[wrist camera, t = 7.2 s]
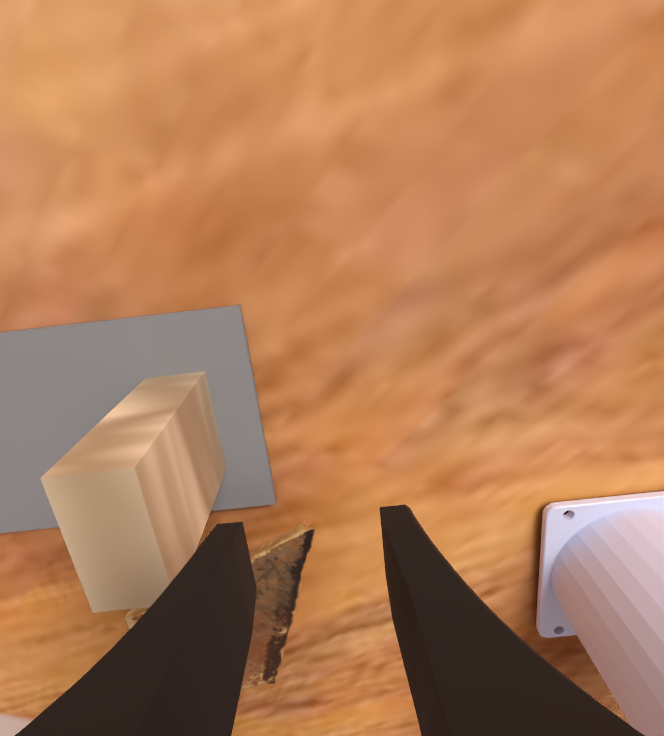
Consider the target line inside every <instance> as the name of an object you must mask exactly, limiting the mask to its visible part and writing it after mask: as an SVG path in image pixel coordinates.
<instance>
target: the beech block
mask: <svg viewBox="0 0 664 736" xmlns="http://www.w3.org/2000/svg"><path fill="white" fill-rule="evenodd" d="M225 472H226V464H225V460H224V455H223V451H222V446H221V442H220V437H219V433H218V428H217V424H216V419H215V415H214V410H213V406H212V401H211V397H210V392H209V388H208V383H207V379H206V374H205V372H196V373H187V374H178V375H170V376H161V377H152V378H145V379H144V380H143V381H142V382H141V383H140V384H139V385H138V386H137V387H136V388H135V389H134V390H132V391H131V392H130V393H129V394H128V395H127V396H126V397H125V398H124V399H123V400H122V401H121V402H120V403H119V404H118V405H117V406H116V407H115V408H114V409H112V410H111V411H110V412H109V413H108V414H107V415H106V416H105V417H104V418H103V419H102V420H101V421H100V422H99V423H98V424H97V425H96V426H95V427H94V428H92V429H91V430H90V431H89V432H88V433H87V434H86V435H85V436H84V437H83V438H82V439H81V440H80V441H79V442H78V443H77V444H76V445H75V446H74V447H73V448H71V449H70V450H69V451H68V452H67V453H66V454H65V455H64V456H63V457H62V458H61V459H60V460H59V461H58V462H57V463H56V464H55V465H54V466H53V467H51V468H50V469H49V470H48V471H47V472H46V473H45V474H44V475H43V476H42V477H41V478H40V479H41V482H42V484H43V487H44V489H45V492H46V494H47V497H48V499H49V502H50V505H51V507H52V510H53V512H54V515H55V517H56V520H57V523H58V525H59V528H60V530H61V533H62V535H63V538H64V541H65V543H66V546H67V548H68V551H69V553H70V556H71V559H72V561H73V564H74V566H75V569H76V571H77V574H78V576H79V579H80V582H81V584H82V587H83V589H84V592H85V594H86V597H87V600H88V602H89V605H90V607H91V610H92V612H93V613H98V612H107V611H117V610H127V609H137V608H147V607H151V605H152V604H153V603H154V602H155V601H156V600H157V599H158V597H159V596H160V595H161V594H162V593H163V591H164V590H165V589H166V588H167V586H168V585H169V584H170V583H171V582H172V580H173V579H174V578H175V577H176V576H177V574H178V573H179V572H180V571H181V569H182V568H183V567H184V566H185V564H186V563H187V562H188V561H189V559H190V558H191V557H192V555H193V554H194V553H195V552H196V549H197V547H198V544H199V541H200V539H201V536H202V533H203V531H204V528H205V525H206V523H207V520H208V517H209V515H210V512H211V509H212V506H213V504H214V501H215V498H216V496H217V493H218V490H219V488H220V485H221V482H222V480H223V477H224V474H225Z"/></svg>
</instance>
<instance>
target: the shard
mask: <svg viewBox="0 0 664 736" xmlns="http://www.w3.org/2000/svg"><path fill="white" fill-rule="evenodd" d="M314 531H315V528H313V527H308V526H307V522H306V520H305V521H303V522H301V523H300V524H298V525H297V526H295V527H293V528H291V529H289V530H288V531H286V532H284V533H281V534H280V535H278V536H277V537H275V538H273V539H272V540H270V541H269V542H268V543H266V544H265V545H263V546H261V547H259V548H258V549H257V550H255V551H253V552H252V553H249V555H250V559H251V564H252V569H253V573H254V578H255V582H256V587H257V590H256V602H255V613H254V623H253V632H252V637H251V642H250V647H249V652H248V657H247V662H246V667H245V672H244V676H243V681H242V686H241V689H246V688H249V687H251V686H256V685H259V684H261V683H265V684H275V682H276V680H277V678H278V674H279V667H280V665H281V661H282V658H283V653H284V648H285V645H286V642H287V638H288V633H289V630H290V627H291V624H292V621H293V618H294V614H295V611H296V607H297V601H298V597H299V593H300V590H301V582H302V571H303V568H304V563H305V560H306V556H307V554H308V552H309V551H310V549H311V547H312V540H313V536H314ZM149 608H150V607H147V608H137V609H131V610H130V611H129V612H128V613H127V614H126V616H125V621H126V623H127V625H128V627H129V629H131V628H132V627H133V626H134V624H135V623H136V622H137V621H138V620H139V619H140V618H141V617H142V615H143V614H144V613H145V612H146V611H147V610H148V609H149Z"/></svg>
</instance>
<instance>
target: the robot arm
mask: <svg viewBox="0 0 664 736" xmlns="http://www.w3.org/2000/svg"><path fill="white" fill-rule="evenodd" d="M566 511H569V512H568V513H567V514H564V513H565V512H566ZM563 514H564V515H563ZM380 516H381V527H382V538H383V549H384V561H385V572H386V580H387V586H388V593H389V599H390V606H391V612H392V618H393V622H394V627H395V631H396V635H397V639H398V642H399V646H400V650H401V654H402V658H403V662H404V666H405V670H406V674H407V678H408V682H409V686H410V690H411V694H412V698H413V702H414V706H415V710H416V714H417V718H418V722H419V726H420V730H421V735H422V736H664V491H660V492H650V493H640V494H631V495H621V496H612V497H602V498H592V499H583V500H573V501H564V502H554V503H550V504H549V505H547V506H546V507H545V508H544V510H543V516H542V533H541V550H540V567H539V584H538V601H537V618H536V628H537V631H538V633H539V634H540V635H541V636H542V637H545V638H552V637H562V636H572V635H577V636H578V638H579V640H580V641H581V643H582V645H583V646H584V648H585V650H586V652H587V653H588V655H589V657H590V658H591V660H592V662H593V663H594V665H595V667H596V668H597V670H598V672H599V673H600V675H601V677H602V678H603V680H604V682H605V683H606V685H607V687H608V689H609V690H610V692H611V694H612V695H613V697H614V699H615V700H616V702H617V704H618V705H619V707H620V709H621V710H622V712H623V714H624V715H625V717H626V719H627V720H628V722H629V724H630V725H631V726H630V725H629V724H628V723H626V722H625V721H623V720H622V719H621V718H619V717H618V716H617V715H615V714H614V713H612V712H611V711H610V710H608V709H607V708H606V707H604V706H603V705H601V704H600V703H599V702H597V701H596V700H595V699H594V698H592V697H591V696H590V695H589V694H587V693H586V692H585V691H583V690H582V689H581V688H580V687H578V686H577V685H576V684H575V683H573V682H572V681H571V680H570V679H568V678H567V677H566V676H565V675H563V674H562V673H561V672H560V671H558V670H557V669H556V668H555V667H553V666H552V665H551V664H550V663H548V662H547V661H546V660H545V659H544V658H542V657H541V656H540V655H539V654H538V653H537V652H536V651H534V650H533V649H532V648H531V647H530V646H529V645H528V644H527V643H525V642H524V641H523V640H522V639H521V638H520V637H519V636H518V635H517V634H515V633H514V632H513V631H512V630H511V629H510V628H509V627H508V626H507V625H506V624H505V623H504V622H503V621H502V620H501V619H500V618H499V617H498V616H497V615H496V614H495V613H494V612H493V611H492V610H491V609H490V608H489V607H488V606H487V605H486V604H485V603H484V602H483V601H482V600H481V599H480V598H479V597H478V596H477V595H476V594H475V593H474V591H473V590H472V589H471V588H470V587H469V586H468V585H467V584H466V583H465V582H464V580H463V579H462V578H461V577H460V576H459V575H458V574H457V572H456V571H455V570H454V569H453V567H452V566H451V565H450V564H449V563H448V561H447V560H446V559H445V558H444V556H443V555H442V554H441V553H440V552H439V550H438V549H437V548H436V546H435V545H434V544H433V542H432V541H431V540H430V538H429V537H428V535H427V534H426V533H425V531H424V530H423V528H422V527H421V525H420V524H419V522H418V521H417V519H416V518H415V516H414V514H413V513H412V511H411V509H410V508H409V507H408V506H406V505H398V506H388V507H380ZM256 590H257V587H256V582H255V578H254V573H253V569H252V564H251V559H250V555H249V550H248V546H247V541H246V536H245V532H244V527H243V523H242V522H235V523H226V524H217V525H216V526H215V528H214V529H213V530H212V531H211V533H210V534H209V535H208V536H207V538H206V539H205V540H204V541H203V543H202V544H201V545H200V546H199V548H198V549H197V550H196V552H195V553H194V554H193V555H192V557H191V558H190V559H189V561H188V562H187V563H186V564H185V566H184V567H183V568H182V569H181V571H180V572H179V573H178V574H177V576H176V577H175V578H174V579H173V580H172V582H171V583H170V584H169V585H168V586H167V588H166V589H165V590H164V591H163V593H162V594H161V595H160V596H159V597H158V599H157V600H156V601H155V602H154V603H153V604H152V605H151V607H150V608H149V609H148V610H147V611H146V612H145V613H144V614H143V615H142V617H141V618H140V619H139V620H138V621H137V622H136V623H135V624H134V626H133V627H132V628H131V629H130V630H129V631H128V632H127V633H126V634H125V635H124V636H123V637H122V639H121V640H120V641H119V642H118V643H117V644H116V645H115V646H114V647H113V648H112V649H111V650H110V651H109V652H108V653H107V654H106V655H105V656H104V657H103V658H102V659H101V660H100V661H99V662H97V663H96V664H95V665H94V666H93V667H92V668H91V669H90V670H89V671H88V672H87V673H86V674H85V675H84V676H83V677H82V678H81V679H80V680H79V681H78V682H76V683H75V684H74V685H73V686H72V687H71V688H70V689H68V690H67V691H66V692H65V693H64V694H63V695H62V696H60V697H59V698H58V699H57V700H56V701H55V702H54V703H52V704H51V705H50V706H49V707H48V708H47V709H46V710H44V711H43V712H42V713H41V714H40V715H39V716H37V717H36V718H35V719H34V720H33V721H32V722H31V723H29V724H28V725H27V726H26V727H25V728H24V729H22V730H21V731H20V732H19V733H18V734H16V735H15V736H231V733H232V729H233V724H234V719H235V714H236V710H237V705H238V700H239V695H240V691H241V686H242V681H243V676H244V672H245V667H246V662H247V657H248V652H249V647H250V642H251V637H252V632H253V623H254V613H255V602H256Z"/></svg>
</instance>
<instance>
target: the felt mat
mask: <svg viewBox="0 0 664 736" xmlns="http://www.w3.org/2000/svg"><path fill="white" fill-rule="evenodd" d="M196 372H205V374H206V379H207V383H208V388H209V392H210V397H211V401H212V406H213V410H214V415H215V419H216V424H217V428H218V433H219V437H220V442H221V446H222V451H223V455H224V460H225V464H226V472H225V474H224V477H223V480H222V482H221V485H220V488H219V490H218V493H217V496H216V498H215V501H214V504H213V506H212V509H211V511H218V510H227V509H237V508H246V507H256V506H265V505H275V504H276V496H275V490H274V485H273V479H272V474H271V468H270V463H269V457H268V452H267V446H266V441H265V436H264V430H263V425H262V419H261V414H260V408H259V403H258V397H257V392H256V386H255V381H254V375H253V370H252V364H251V359H250V354H249V348H248V343H247V337H246V332H245V326H244V321H243V315H242V310H241V305H235V306H226V307H217V308H208V309H200V310H191V311H182V312H173V313H165V314H156V315H147V316H138V317H130V318H121V319H112V320H104V321H95V322H86V323H77V324H69V325H60V326H51V327H42V328H34V329H25V330H16V331H7V332H0V533H9V532H18V531H28V530H37V529H47V528H56V527H59V525H58V523H57V520H56V517H55V515H54V512H53V510H52V507H51V505H50V502H49V499H48V497H47V494H46V492H45V489H44V487H43V484H42V482H41V479H40V478H41V477H42V476H43V475H44V474H45V473H46V472H47V471H48V470H49V469H50V468H51V467H53V466H54V465H55V464H56V463H57V462H58V461H59V460H60V459H61V458H62V457H63V456H64V455H65V454H66V453H67V452H68V451H69V450H70V449H71V448H73V447H74V446H75V445H76V444H77V443H78V442H79V441H80V440H81V439H82V438H83V437H84V436H85V435H86V434H87V433H88V432H89V431H90V430H91V429H92V428H94V427H95V426H96V425H97V424H98V423H99V422H100V421H101V420H102V419H103V418H104V417H105V416H106V415H107V414H108V413H109V412H110V411H111V410H112V409H114V408H115V407H116V406H117V405H118V404H119V403H120V402H121V401H122V400H123V399H124V398H125V397H126V396H127V395H128V394H129V393H130V392H131V391H132V390H134V389H135V388H136V387H137V386H138V385H139V384H140V383H141V382H142V381H143V380H144V379H145V378H152V377H161V376H170V375H178V374H187V373H196Z"/></svg>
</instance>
